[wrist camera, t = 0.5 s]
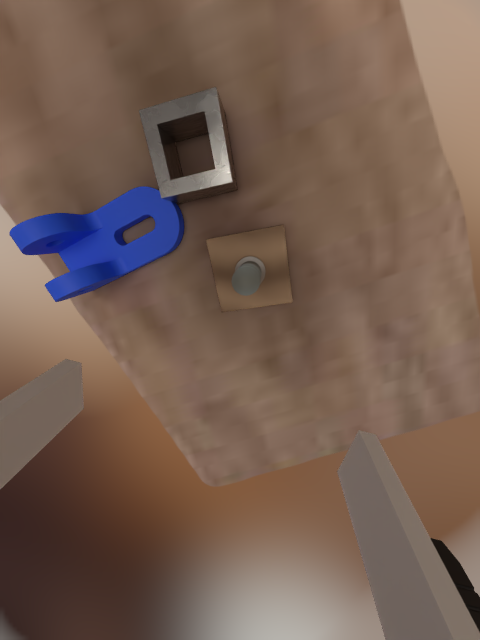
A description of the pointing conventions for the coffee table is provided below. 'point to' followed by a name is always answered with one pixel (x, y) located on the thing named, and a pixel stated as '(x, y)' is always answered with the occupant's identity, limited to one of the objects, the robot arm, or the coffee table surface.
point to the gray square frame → (183, 123)
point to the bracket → (102, 240)
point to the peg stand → (251, 268)
